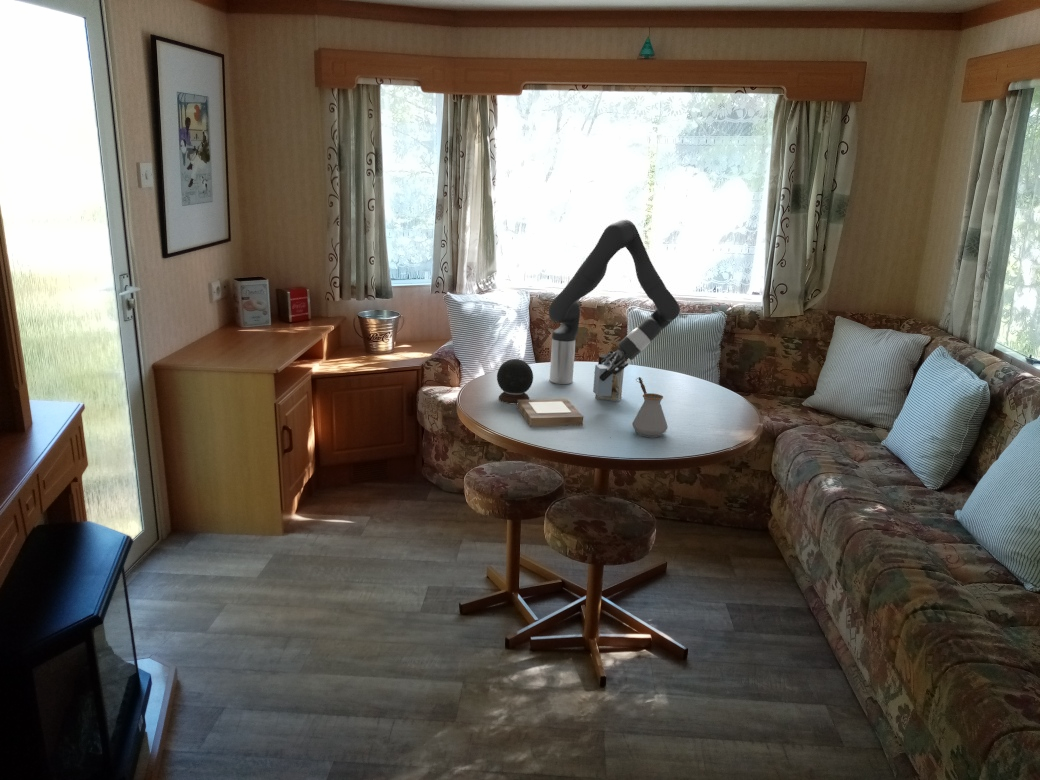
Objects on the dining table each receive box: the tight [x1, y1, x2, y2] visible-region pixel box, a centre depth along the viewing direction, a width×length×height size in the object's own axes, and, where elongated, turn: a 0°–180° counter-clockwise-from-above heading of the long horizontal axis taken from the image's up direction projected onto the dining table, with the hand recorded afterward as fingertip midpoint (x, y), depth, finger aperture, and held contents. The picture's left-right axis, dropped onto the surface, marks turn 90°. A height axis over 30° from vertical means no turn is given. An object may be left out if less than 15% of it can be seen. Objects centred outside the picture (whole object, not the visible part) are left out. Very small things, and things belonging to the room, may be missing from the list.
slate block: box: [592, 364, 613, 396], centre depth 271 cm, size 5×5×10 cm
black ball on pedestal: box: [496, 358, 534, 404], centre depth 281 cm, size 13×13×15 cm
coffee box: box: [594, 353, 625, 402], centre depth 288 cm, size 9×6×16 cm
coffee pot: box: [631, 376, 668, 438], centre depth 257 cm, size 21×12×15 cm, turn 9°
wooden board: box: [516, 398, 584, 427], centre depth 266 cm, size 20×18×3 cm
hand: (598, 377), depth 271 cm, fingers closed on slate block, 5 cm apart
